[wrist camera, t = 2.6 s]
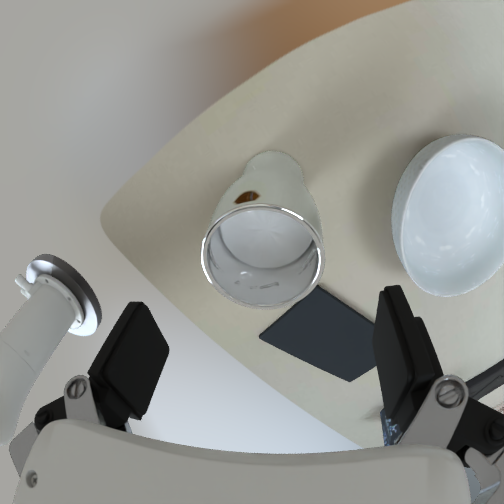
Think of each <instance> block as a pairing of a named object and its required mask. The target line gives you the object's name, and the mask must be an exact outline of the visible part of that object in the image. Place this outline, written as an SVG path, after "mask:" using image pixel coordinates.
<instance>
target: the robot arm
mask: <svg viewBox="0 0 504 504" xmlns="http://www.w3.org/2000/svg"><path fill="white" fill-rule="evenodd" d="M15 282H16V283H17V284H18V285H19V286H20V287H21V288H22V289H21V293H22V294H23V295H24V296H26V297H27V299H28V300H27V301H26V302H25V303H24V304H23V306H22V307H21V308H20V309H19V310H18V312H17V313H16V314H15V315H14V316H13V318H12V319H11V320H10V321H9V323H8V324H7V325H6V326H5V328H4V329H3V330H2V332H1V333H0V445H6V444H8V443H9V442H10V441H11V439H12V437H13V435H14V433H15V430H16V426H17V423H18V419H19V415H20V412H21V410H22V407H23V404H24V402H25V400H26V397H27V396H28V394H29V392H30V390H31V388H32V386H33V385H34V383H35V381H36V379H37V378H38V376H39V374H40V373H41V371H42V369H43V368H44V366H45V365H46V363H47V361H48V360H49V358H50V357H51V355H52V354H53V352H54V350H55V349H56V347H57V346H58V344H59V343H60V341H61V340H62V338H63V337H64V335H65V334H66V333H67V331H68V330H69V328H70V329H77V328H79V327H80V326H81V325H82V324H83V322H84V312H83V309H82V307H81V305H80V303H79V301H78V299H77V298H76V296H75V295H74V294H73V293H72V291H71V290H70V289H69V288H68V287H67V286H66V285H65V284H64V283H62V282H61V281H60V280H58V279H57V278H55V277H53V276H51V275H48V274H41V275H39V276H38V277H37V278H36V279H35V280H34V284H33V283H32V282H31V283H29V282H28V281H27V280H26V279H25V278H24V277H23V276H22V275H21V274H19V275H18V276H17V277H16V279H15ZM372 346H373V351H374V356H375V360H376V365H377V370H378V375H379V380H380V386H381V391H382V397H383V403H384V409H385V415H386V418H387V419H391V425H396V424H399V430H400V431H401V432H402V433H401V434H400V436H399V437H398V439H397V440H396V442H395V443H394V445H392V446H383V447H375V448H366V449H358V450H349V451H340V452H339V451H338V452H325V453H306V454H262V453H244V452H243V453H242V452H232V451H221V450H213V449H212V450H211V449H205V448H198V447H191V446H185V445H180V444H174V443H169V442H164V441H160V440H155V439H151V438H146V437H142V436H138V435H135V434H132V431H131V428H130V426H129V423H128V418H129V417H130V418H133V419H136V420H141V419H142V416H143V415H144V414H145V413H146V411H147V409H148V406H149V404H150V401H151V398H152V396H153V393H154V390H155V388H156V385H157V383H158V380H159V377H160V375H161V372H162V370H163V367H164V365H165V362H166V359H167V357H168V354H169V346H168V344H167V342H166V340H165V338H164V337H163V335H162V333H161V331H160V329H159V328H158V326H157V324H156V322H155V320H154V318H153V316H152V314H151V312H150V310H149V308H148V307H147V306H146V305H145V304H144V303H143V302H129V303H128V305H127V306H126V308H125V309H124V311H123V313H122V314H121V316H120V317H119V319H118V321H117V322H116V324H115V326H114V327H113V329H112V330H111V332H110V334H109V336H108V337H107V339H106V341H105V343H104V344H103V346H102V348H101V349H100V351H99V353H98V354H97V356H96V358H95V360H94V362H93V363H92V365H91V367H90V369H89V370H88V374H89V375H90V377H89V379H88V378H87V377H86V376H84V375H78V376H75V377H73V378H71V379H70V380H69V381H68V383H67V384H66V386H65V389H64V396H62V397H60V398H59V399H57V400H55V401H53V402H51V403H49V404H47V405H45V406H43V407H42V408H40V409H39V411H38V412H37V414H36V415H35V423H33V422H31V423H30V424H29V425H28V426H27V427H26V428H25V429H24V430H23V431H22V432H21V433H20V434H18V435H17V436H16V437H15V438H14V439H13V441H12V442H11V444H10V447H9V451H10V455H11V458H12V460H13V463H14V465H15V467H16V470H17V472H18V474H19V476H20V480H19V483H18V486H17V489H16V493H15V496H14V500H13V504H471V496H470V489H469V484H468V479H467V475H466V472H465V469H464V467H467V468H470V467H471V468H472V469H473V471H474V472H475V473H476V474H475V477H476V478H477V479H478V481H479V483H480V492H479V495H478V497H477V498H476V500H475V501H474V502H473V503H472V504H504V414H502V413H500V412H498V411H496V410H494V409H492V408H490V407H488V406H486V405H484V404H482V403H480V402H478V401H476V400H474V399H473V398H471V397H469V392H468V388H467V385H466V383H465V382H464V381H463V380H462V379H461V378H459V377H457V376H454V375H445V376H444V374H443V371H442V369H441V366H440V363H439V360H438V357H437V355H436V352H435V349H434V347H433V344H432V342H431V339H430V337H429V334H428V332H427V329H426V327H425V324H424V322H423V320H422V318H420V317H414V316H413V313H412V311H411V308H410V306H409V304H408V301H407V299H406V297H405V295H404V292H403V290H402V288H401V286H400V285H394V286H386V287H385V288H384V291H380V294H379V301H378V308H377V314H376V320H375V326H374V332H373V337H372Z"/></svg>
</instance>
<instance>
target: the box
mask: <svg viewBox="0 0 504 504" xmlns="http://www.w3.org/2000/svg"><path fill="white" fill-rule="evenodd" d="M380 415H381V422H382V429H383V437H384V445H385V446H392V445H394V443H395V442H396V440H397V439H398V437H399V436H400V434H401V433H402V432H401V431H400V430H399V424H396V425H391V419H387V418H386V415H385V409H383V410H382V411H381V412H380Z"/></svg>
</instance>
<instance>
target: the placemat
mask: <svg viewBox="0 0 504 504" xmlns="http://www.w3.org/2000/svg"><path fill="white" fill-rule="evenodd" d="M374 326H375V324H374V323H372V322H371V321H370V320H368V319H367V318H365V317H364V316H362V315H361V314H359V313H358V312H356V311H355V310H353V309H352V308H351V307H349V306H348V305H346V304H345V303H343V302H342V301H340V300H339V299H337V298H336V297H334V296H333V295H331V294H330V293H328V292H327V291H326V290H324V289H323V288H321V287H320V286H318V285H316V287H315V288H314V289H313V290H312V291H311V292H310V293H309V294H308V295H307V296H306V297H304V298H303V299H301V300H300V301H298V302H297V303H296V304H295V305H294V306H293V307H292V308H290V309H289V310H288V311H287V312H286V313H285V314H284V315H282V316H281V317H280V318H279V319H278V320H277V321H276V322H274V323H273V324H272V325H271V326H270V327H269V328H267V329H266V330H265V331H264V332H263V333H261V334H260V335H259V339H261V340H263V341H265V342H267V343H269V344H271V345H273V346H275V347H277V348H279V349H281V350H283V351H285V352H287V353H289V354H291V355H293V356H295V357H297V358H299V359H301V360H303V361H305V362H307V363H309V364H311V365H313V366H315V367H317V368H320V369H322V370H324V371H326V372H328V373H330V374H333V375H335V376H337V377H339V378H341V379H344V380H346V381H348V382H351V381H353V380H355V379H356V378H358V377H360V376H361V375H363V374H364V373H366V372H368V371H369V370H371V369H372V368H374V367H375V366H377V365H376V360H375V356H374V351H373V346H372V337H373V332H374Z"/></svg>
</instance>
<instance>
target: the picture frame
mask: <svg viewBox="0 0 504 504" xmlns="http://www.w3.org/2000/svg"><path fill="white" fill-rule="evenodd" d="M465 383H466V385H467V388H468V392H469V397H471V398H473V399H474V400H476V401H478V400H479V399H480V398H482V397H483V396H485V395H487V394H488V393H490V392H492V391H493V390H495V389H496V388H498V387H500V386H501V385H503V384H504V359H503V360H502V361H500V362H499V363H497V364H496V365H494V366H493V367H491V368H489V369H488V370H486V371H485V372H483V373H481V374H480V375H478V376H476V377H474V378H473V379H471V380H469V381H467V382H465Z"/></svg>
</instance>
